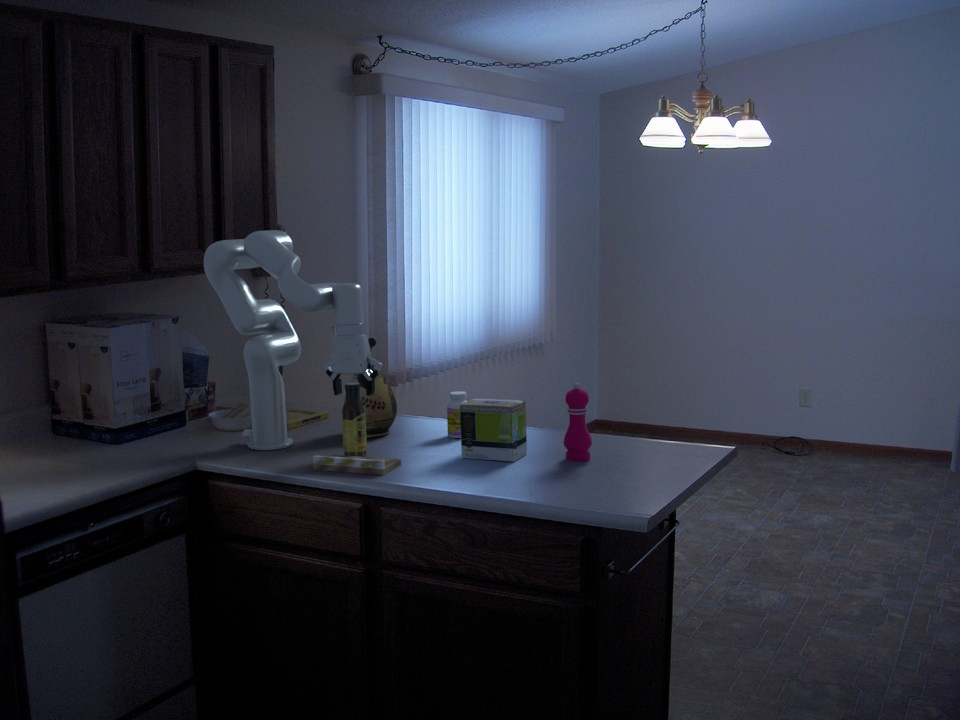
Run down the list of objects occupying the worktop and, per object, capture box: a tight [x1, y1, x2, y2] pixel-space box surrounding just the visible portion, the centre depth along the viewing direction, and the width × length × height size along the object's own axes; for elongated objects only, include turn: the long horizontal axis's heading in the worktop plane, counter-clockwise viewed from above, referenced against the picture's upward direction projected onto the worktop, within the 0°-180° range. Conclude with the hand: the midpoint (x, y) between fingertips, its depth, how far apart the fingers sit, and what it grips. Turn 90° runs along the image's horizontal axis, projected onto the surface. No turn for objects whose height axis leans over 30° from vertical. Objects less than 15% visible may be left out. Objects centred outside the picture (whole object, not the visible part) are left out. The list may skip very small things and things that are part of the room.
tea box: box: [460, 397, 528, 463], centre depth 264 cm, size 15×10×15 cm
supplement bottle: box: [446, 390, 469, 439], centre depth 288 cm, size 7×7×13 cm
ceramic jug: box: [343, 337, 398, 439], centre depth 291 cm, size 17×15×30 cm
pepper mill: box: [563, 382, 593, 463], centre depth 258 cm, size 7×7×20 cm
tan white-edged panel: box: [312, 454, 402, 476], centre depth 257 cm, size 20×10×4 cm, turn 68°
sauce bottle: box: [341, 382, 368, 457], centre depth 267 cm, size 6×6×20 cm
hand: (354, 394), depth 266 cm, fingers open, 9 cm apart
